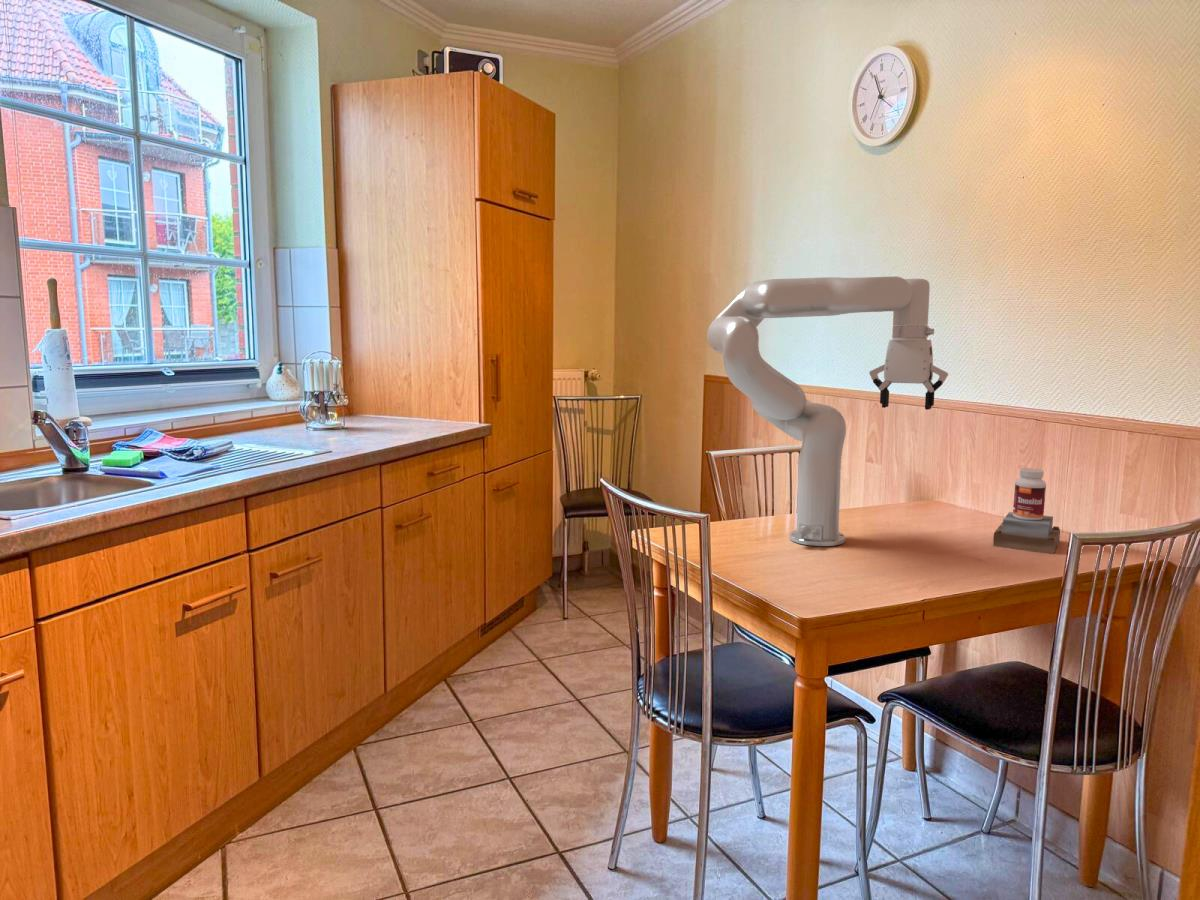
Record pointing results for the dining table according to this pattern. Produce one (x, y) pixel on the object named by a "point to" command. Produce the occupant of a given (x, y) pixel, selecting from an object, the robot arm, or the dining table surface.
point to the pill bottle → (1029, 495)
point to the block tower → (1027, 534)
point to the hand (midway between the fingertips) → (906, 408)
